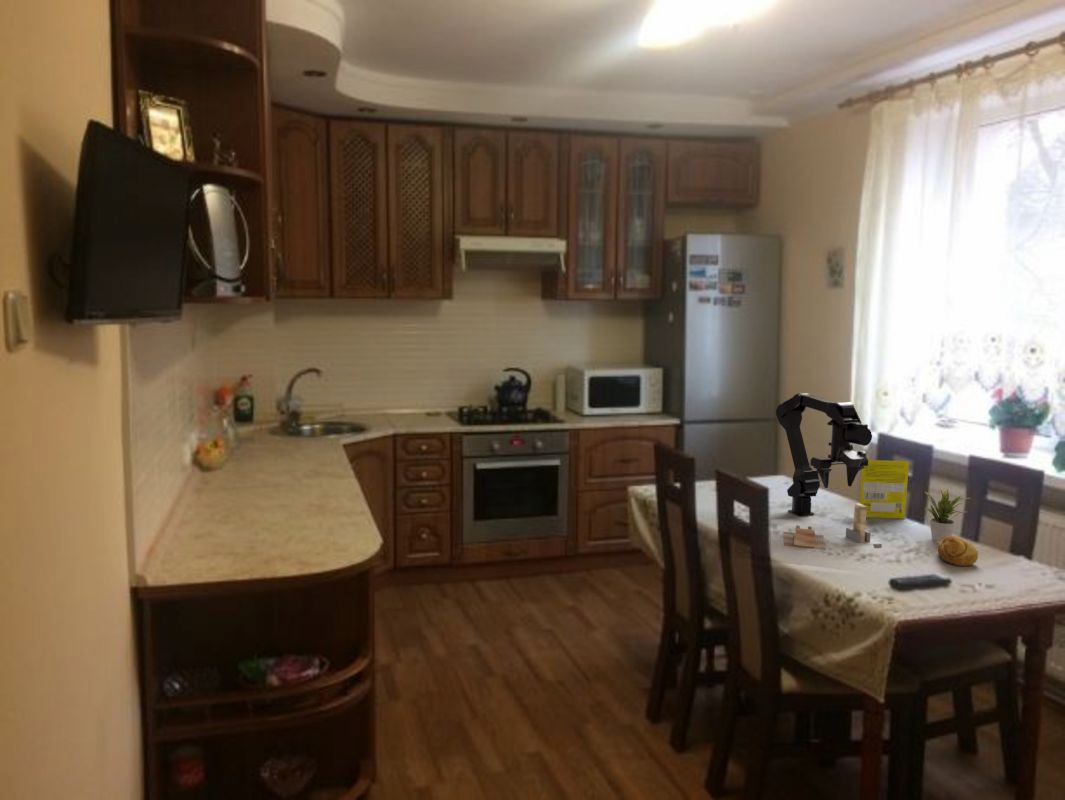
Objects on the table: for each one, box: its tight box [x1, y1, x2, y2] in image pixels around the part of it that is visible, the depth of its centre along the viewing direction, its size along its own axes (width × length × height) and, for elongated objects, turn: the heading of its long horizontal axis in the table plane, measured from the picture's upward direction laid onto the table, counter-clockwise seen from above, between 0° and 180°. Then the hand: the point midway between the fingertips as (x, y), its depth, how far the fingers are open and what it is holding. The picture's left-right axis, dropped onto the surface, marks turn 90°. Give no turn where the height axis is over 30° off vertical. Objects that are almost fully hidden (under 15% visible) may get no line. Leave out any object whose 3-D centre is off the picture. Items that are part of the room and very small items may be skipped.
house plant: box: [923, 488, 973, 543], centre depth 259 cm, size 14×14×16 cm
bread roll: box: [936, 535, 979, 567], centre depth 241 cm, size 13×10×8 cm
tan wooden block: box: [852, 502, 867, 542], centre depth 256 cm, size 4×2×11 cm, turn 12°
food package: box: [859, 459, 910, 519], centre depth 285 cm, size 15×1×20 cm, turn 84°
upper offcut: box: [794, 528, 816, 540], centre depth 251 cm, size 4×5×2 cm, turn 74°
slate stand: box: [834, 527, 883, 548], centre depth 257 cm, size 10×10×4 cm
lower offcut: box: [794, 534, 816, 547], centre depth 252 cm, size 4×6×2 cm, turn 74°
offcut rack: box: [782, 525, 827, 551], centre depth 256 cm, size 15×12×4 cm
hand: (837, 487), depth 274 cm, fingers open, 9 cm apart
